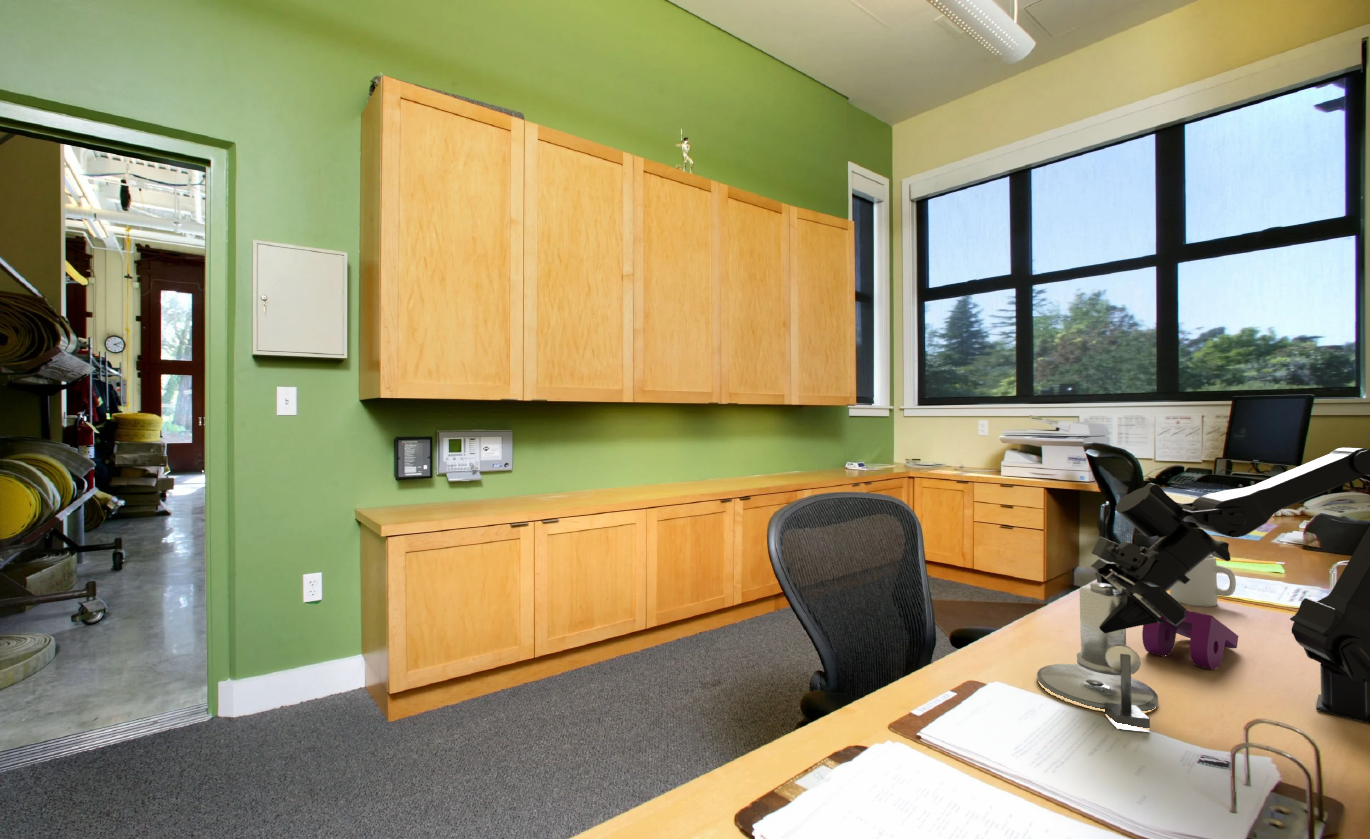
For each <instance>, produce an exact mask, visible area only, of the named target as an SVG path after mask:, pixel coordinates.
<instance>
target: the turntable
mask: <svg viewBox="0 0 1370 839" xmlns="http://www.w3.org/2000/svg"><path fill="white" fill-rule="evenodd" d="M1036 674H1037V675H1036V677H1037V678H1038V681H1039V682H1040V683H1041V684H1042V685H1043V686H1044V687H1045V688H1047V689H1049V690H1050V691H1051V692H1053V693H1055V694H1057V695H1060V696H1063V697H1064V698H1067V699H1070V700H1072V701H1076V702H1079V703H1081V704H1084V705H1087V706H1092V707H1095V708H1100V709H1105V703H1115V704H1121V675H1108V674H1102V673H1098V672H1094V671H1091V670H1088V669H1086V668H1084V667H1082V666H1080V665H1079V664H1078V663H1077V664H1076V663H1058V664H1050V665H1046V666H1043V667H1041V668H1040V669H1038V670H1037V673H1036ZM1037 678H1036V679H1037ZM1131 700H1132V705H1136V706H1137V707H1138V708H1139V709H1140V710H1141V711H1148V710H1152V709H1154V708H1155V707H1157V705H1158V706H1159V697H1158V694H1157V693H1156V691H1155V690H1154V689H1153V688H1152V687H1151V686H1149V685H1148V684H1146V683H1144V682H1142V681H1140V680H1139V679H1136V678H1134V677H1132V676H1131ZM1157 708H1158V707H1157Z"/></svg>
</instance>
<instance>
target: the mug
mask: <svg viewBox="0 0 1370 839" xmlns="http://www.w3.org/2000/svg"><path fill="white" fill-rule="evenodd" d="M1218 573H1223V574H1225V575H1227V577H1228V579H1229V586H1228V587H1227V589H1224V588H1223V589H1222V588H1220V587H1218V583H1217V582H1218V580H1217V578H1218V577H1217V574H1218ZM1235 576H1236V575H1235V572H1234V571H1233V570H1232V569H1231V568H1229V567H1226V566H1224V565H1221V564H1220V565H1219V564H1217V557H1214V556H1212V555H1210V556H1208V557H1207V558H1206V559H1205V560H1204V561H1202V562H1201V563H1200V564H1199V565H1198V566H1196V567H1195V568H1194V569H1193V570H1192V571H1190V572H1189V573H1188V574H1187V575H1186V577H1188V578H1189V579H1190V581H1188V582H1187V583H1186V584H1183V583H1181V582H1179V581H1178V582H1177V583H1176V584H1175V585H1174V586H1172V587H1171V588H1170V589H1169V595H1170V596H1172V597H1173V598H1174V599H1175V600H1176V601H1177V602H1178V603H1180V604H1183V605H1187V606H1194V607H1202V608H1203V607H1204V608H1205V607H1208V608H1209V607H1211V608H1212V607H1216V606H1217V605H1218V597H1219V596H1221V597H1230V596H1232V595H1233V594H1234V593H1235V592H1236V586H1237V582H1236V579H1237V578H1236V577H1235Z"/></svg>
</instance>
